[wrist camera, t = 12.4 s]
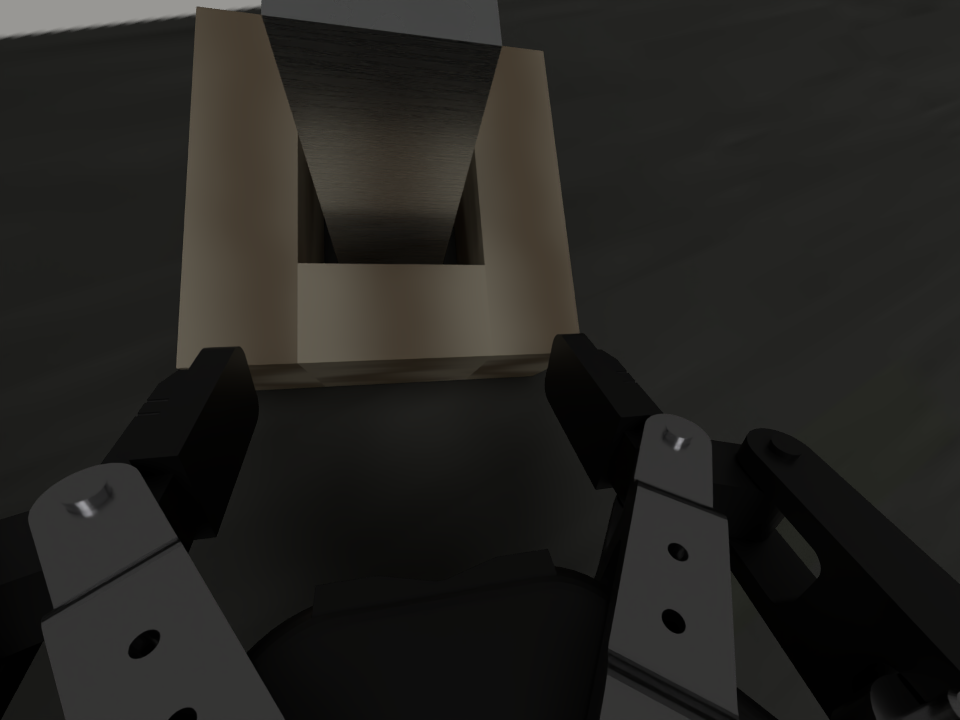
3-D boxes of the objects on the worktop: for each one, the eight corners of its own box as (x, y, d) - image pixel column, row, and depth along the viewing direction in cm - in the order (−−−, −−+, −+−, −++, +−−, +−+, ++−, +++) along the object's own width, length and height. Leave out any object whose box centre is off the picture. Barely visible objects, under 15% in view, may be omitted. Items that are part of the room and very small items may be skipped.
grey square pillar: (347, 293, 21) (261, 15, 7) (346, 214, 21) (264, -171, 8) (434, 293, 22) (502, 45, 8) (430, 216, 22) (484, -124, 9)
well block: (243, 391, 19) (176, 368, 13) (249, 124, 21) (196, 6, 16) (532, 376, 22) (581, 352, 16) (507, 144, 24) (542, 51, 19)
